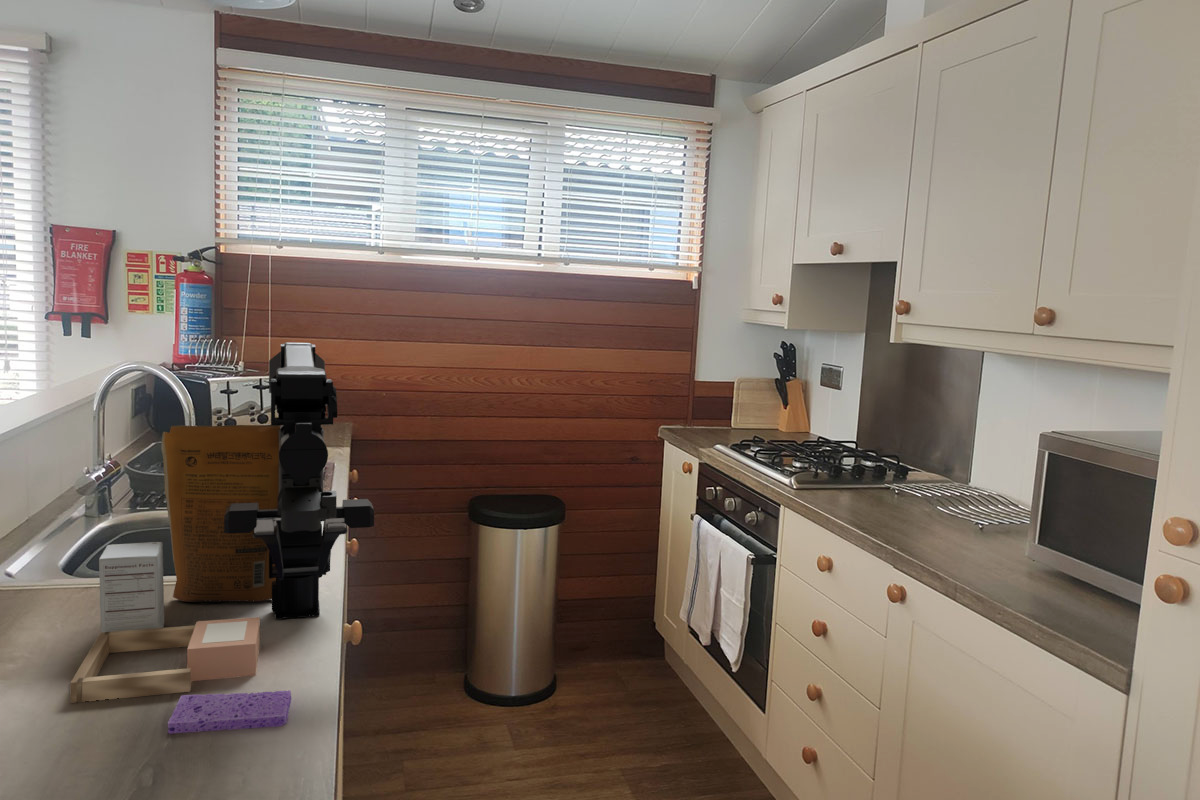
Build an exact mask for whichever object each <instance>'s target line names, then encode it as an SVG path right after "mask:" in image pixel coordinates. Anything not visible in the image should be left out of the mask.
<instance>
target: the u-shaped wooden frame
mask: <svg viewBox="0 0 1200 800" xmlns="http://www.w3.org/2000/svg"><path fill="white" fill-rule="evenodd" d="M195 625H196V624H194V625H186V626H185V625H183V626H169V627H163V628H154V629H141V630H128V631H114V632H101V631H100V632H99V634H98V636H97V638H96V640H95V641H94V643H93V645H92V646H91V648H90V649H89V651H88V653H87V654H86V656H85V657H84V659H83V661H82V662H81V665H80V666H79V668H78V669H77V671H76V673H75V675H74V676H73V678H72V679H71V681H70V704H77V703H76V702H78V703H86V702H85V701H89V702H97V701H96V700H99V701H106V700H105V699H109V700H116V699H117V698H119V699H127V698H136V697H137V698H139V697H146V696H147V697H149V696H157V695H158V696H159V695H169V694H179V693H190V692H191V690H192V681H191V668H187V667H186V668H179V669H178V668H177V669H167V670H166V669H165V670H155V671H146V672H145V671H144V672H134V673H133V672H132V673H131V672H130V673H123V674H121V673H120V674H110V675H109V674H108V675H100V676H98V675H99V672H100V671H101V669H102V667H103V665H104V663H105V661H106V660H107V658H108V656H109V654H111V653H122V652H124V653H125V652H136V651H138V652H139V651H146V650H148V651H149V650H161V649H172V648H173V649H174V648H185V647H188V646H189V643H190V640H191V637H192V634H193V631H194V628H195ZM117 700H118V699H117Z"/></svg>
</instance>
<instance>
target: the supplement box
mask: <svg viewBox="0 0 1200 800" xmlns="http://www.w3.org/2000/svg"><path fill="white" fill-rule="evenodd" d="M163 545H164V543H163V542H162V541H150V542H149V541H148V542H132V543H131V542H130V543H119V544H118V543H116V544H107V545H106V547H105V548H104V549H103V552H102V554H101V555H100V556H99V559H98V566H99V573H98V574H99V608H100V610H99V611H100V613H99V614H100V616H99V617H100V633H101V632H114V631H128V630H141V629H154V628H164V625H165V600H164V599H165V598H164V596H165V595H164V591H165V590H164V589H165V588H164V547H163Z"/></svg>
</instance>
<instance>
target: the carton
mask: <svg viewBox="0 0 1200 800" xmlns="http://www.w3.org/2000/svg"><path fill="white" fill-rule="evenodd" d="M194 625H195V628H194V631H193V634H192V637H191V640H190V643H189V646H187V651H186V652H187V656H186V657H187V658H186V661H187V665H186V666H187V667H186V668H191V682H195V681H196V682H197V681H208V680H221V679H229V678H239V677H240V678H241V677H242V678H243V677H252V676H257V675H256V674H257V668H258V660H259V655H260V647H261V645H260V644H261V642H260V640H261V639H260V638H261V637H260V636H261V634H260V631H261V629H260V628H261V627H260V616H254V617H243V618H242V617H241V618H228V619H211V620H197V621H196V622H195V624H194Z"/></svg>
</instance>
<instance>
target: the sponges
mask: <svg viewBox="0 0 1200 800" xmlns="http://www.w3.org/2000/svg"><path fill="white" fill-rule="evenodd" d="M291 694H292V693H291V690H276V691H258V692H250V693H248V692H235V693H232V692H231V693H229V694H228V693H227V694H225V693H213V694H212V693H211V694H209V693H207V694H183V695H182V694H181V695H180V697H179V699H178V700H177V701H178V702H177V703H176V705H175V706H176V707H174V709H173V711H172V714H171V716H170V717H169V719H168V721H167V728H168V730H167V733H168V734H180V733H181V734H183V733H184V734H185V733H196V732H197V733H198V732H209V731H210V732H211V731H223V730H240V729H241V730H242V729H255V728H258V729H260V728H272V727H273V728H274V727H275V728H276V727H282V726H283V725H286V724H287V723H288V717H289V713H290V712H289V711H290V706H291V702H292V695H291Z"/></svg>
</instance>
